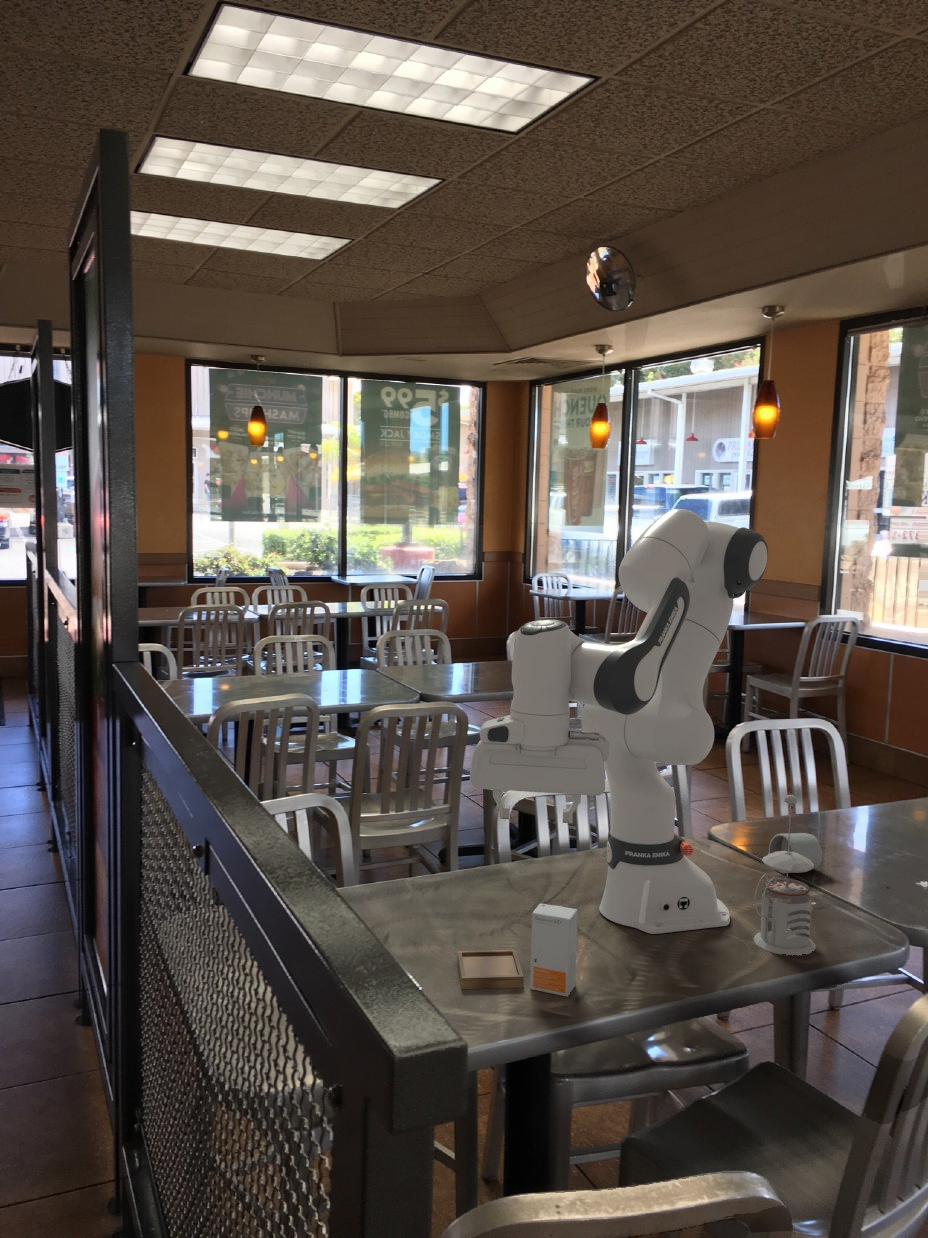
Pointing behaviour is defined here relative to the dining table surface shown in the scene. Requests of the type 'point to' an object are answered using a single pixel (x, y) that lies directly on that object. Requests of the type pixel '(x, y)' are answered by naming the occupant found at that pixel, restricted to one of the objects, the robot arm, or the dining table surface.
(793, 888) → the french press
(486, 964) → the walnut tray
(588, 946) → the dining table surface
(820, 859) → the ceramic mug
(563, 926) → the skincare box
